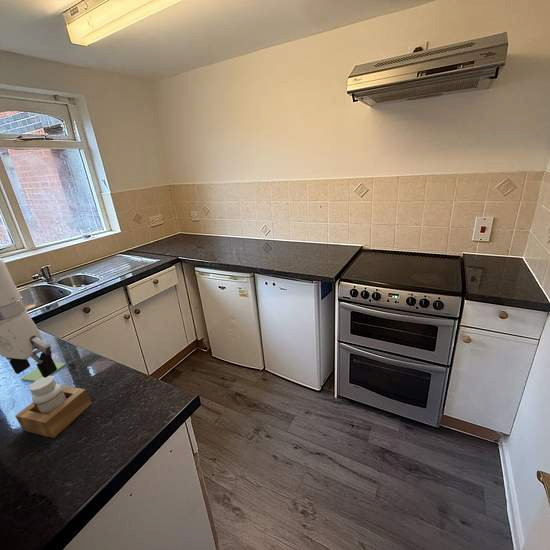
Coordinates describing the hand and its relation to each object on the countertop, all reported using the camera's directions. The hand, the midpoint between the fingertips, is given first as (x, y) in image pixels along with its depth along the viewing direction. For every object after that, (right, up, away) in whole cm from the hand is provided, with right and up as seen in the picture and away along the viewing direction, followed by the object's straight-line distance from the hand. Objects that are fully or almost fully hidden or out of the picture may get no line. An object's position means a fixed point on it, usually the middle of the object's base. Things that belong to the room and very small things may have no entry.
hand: (36, 371), depth 73 cm
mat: (-18, -8, +26) cm, 32 cm away
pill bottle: (+2, -14, +5) cm, 15 cm away
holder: (+2, -14, +5) cm, 15 cm away
